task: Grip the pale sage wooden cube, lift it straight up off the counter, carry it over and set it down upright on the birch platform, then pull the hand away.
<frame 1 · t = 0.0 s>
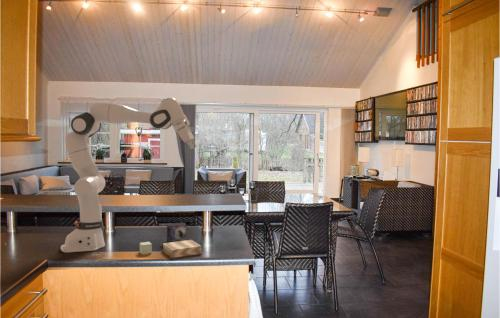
hand: (193, 148, 228), 54 cm above the worktop, tool tilted 30°, fingers open, 8 cm apart
birch platform: (182, 252, 222), on the worktop
small box: (176, 242, 241), on the worktop
sage cube: (145, 252, 221), on the worktop
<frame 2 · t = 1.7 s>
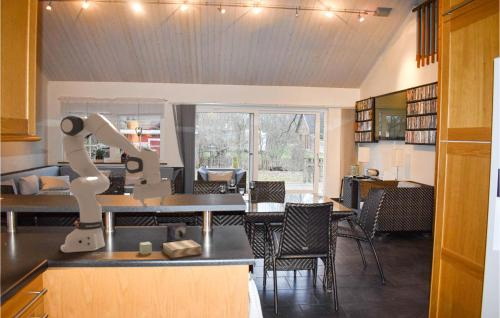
hand: (153, 206, 220), 24 cm above the worktop, tool pointing down, fingers open, 8 cm apart
nothing on the worktop moved.
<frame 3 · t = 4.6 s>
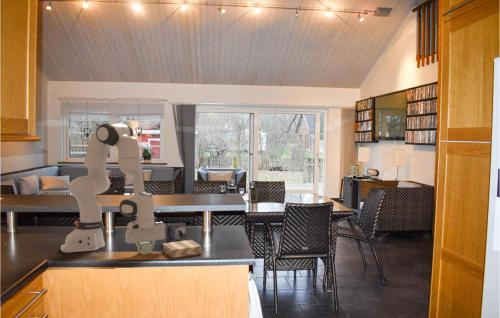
hand: (145, 249, 221), 2 cm above the worktop, tool pointing down, fingers closed on sage cube, 5 cm apart
sage cube: (145, 252, 221), on the worktop, touching gripper
everything else where it was.
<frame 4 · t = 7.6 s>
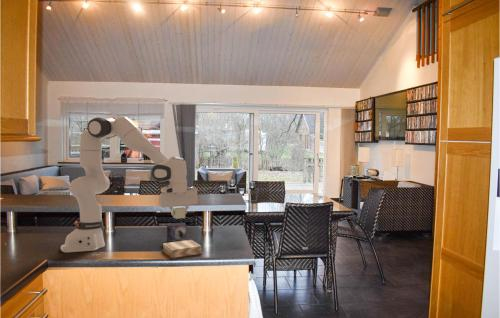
hand: (179, 214, 220), 20 cm above the worktop, tool pointing down, fingers closed on sage cube, 5 cm apart
sage cube: (179, 217, 220), point 19 cm above the worktop, touching gripper
everything else where it was.
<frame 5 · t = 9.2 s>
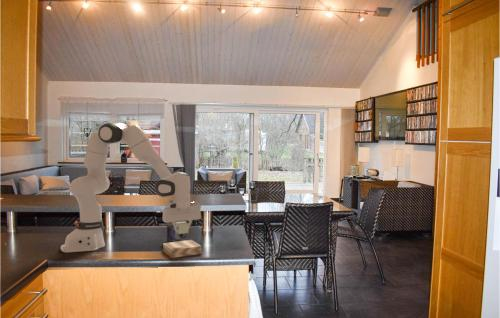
hand: (182, 229, 221), 12 cm above the worktop, tool pointing down, fingers closed on sage cube, 5 cm apart
sage cube: (182, 232, 221), point 11 cm above the worktop, touching gripper
everything else where it was.
when the fingers open (7 cm above the worktop, at t = 10.6 s): sage cube drops 1 cm, resting on birch platform.
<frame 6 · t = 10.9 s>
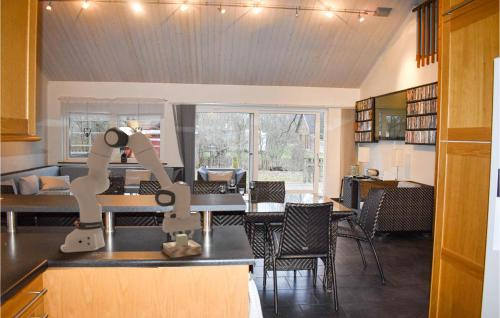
hand: (181, 238, 222), 7 cm above the worktop, tool pointing down, fingers open, 8 cm apart
sage cube: (181, 244, 222), point 4 cm above the worktop, touching birch platform
everything else where it was.
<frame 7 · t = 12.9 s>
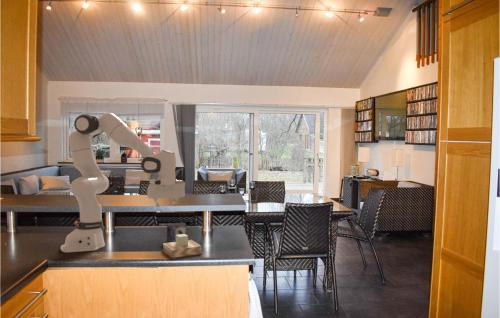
hand: (166, 206, 227), 23 cm above the worktop, tool pointing down, fingers open, 8 cm apart
nothing on the worktop moved.
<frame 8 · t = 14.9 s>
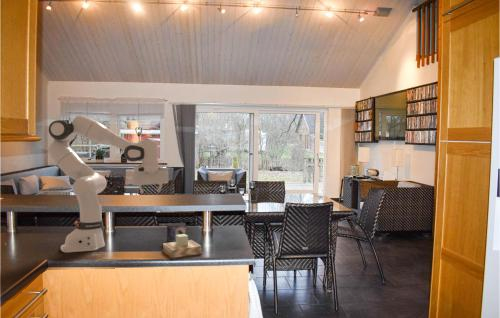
hand: (150, 192, 235), 29 cm above the worktop, tool pointing down, fingers open, 8 cm apart
nothing on the worktop moved.
at the end: sage cube inside the target area on the birch platform (0.1 cm from its centre), point 4.0 cm above the birch platform's base; sage cube tilted 0°; the gripper is holding nothing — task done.
